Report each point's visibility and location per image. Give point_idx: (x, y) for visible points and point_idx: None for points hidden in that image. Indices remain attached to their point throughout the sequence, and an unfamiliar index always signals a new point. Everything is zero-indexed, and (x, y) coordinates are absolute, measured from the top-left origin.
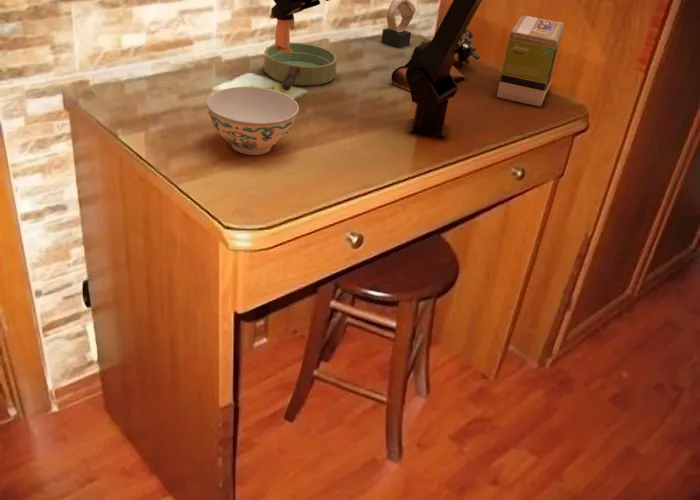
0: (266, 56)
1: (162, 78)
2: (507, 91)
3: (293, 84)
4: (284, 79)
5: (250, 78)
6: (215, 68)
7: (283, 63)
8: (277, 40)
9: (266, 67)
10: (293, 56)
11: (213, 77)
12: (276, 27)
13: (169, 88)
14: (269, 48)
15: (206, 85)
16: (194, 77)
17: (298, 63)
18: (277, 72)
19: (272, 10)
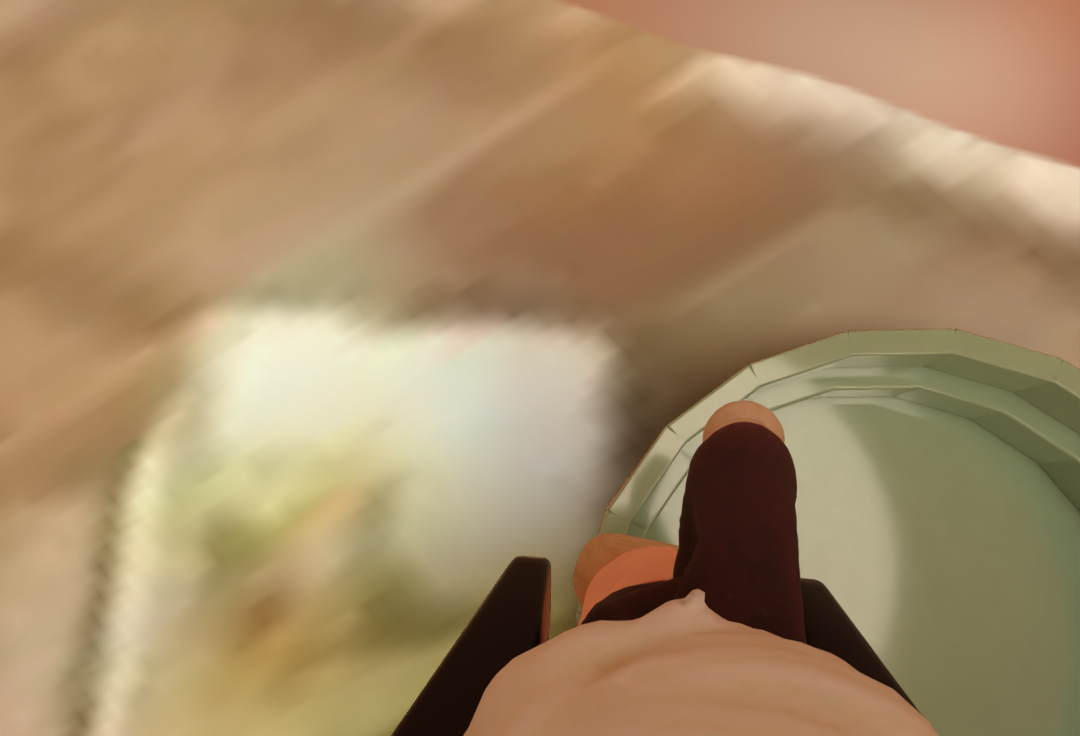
0: (657, 438)
1: (169, 2)
2: None
3: None
4: None
5: (519, 398)
6: (522, 124)
7: None
8: (587, 606)
9: (644, 453)
10: (1070, 478)
11: (373, 206)
12: (629, 577)
13: (61, 123)
14: (854, 355)
15: (228, 252)
16: (298, 122)
17: (1027, 544)
18: None
19: (691, 472)
